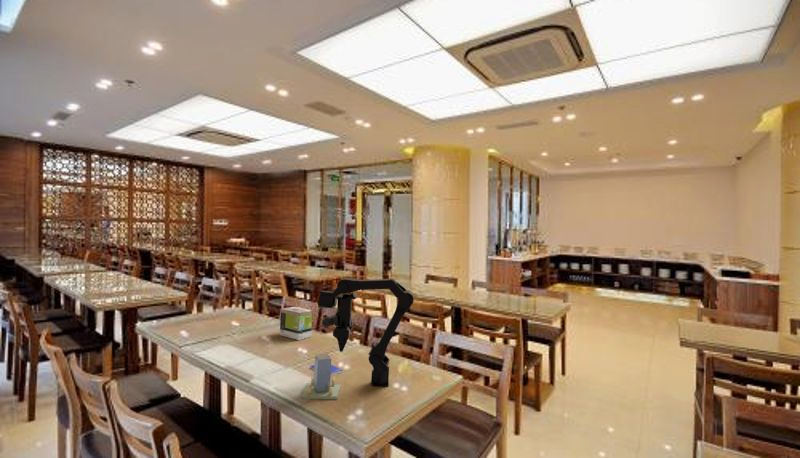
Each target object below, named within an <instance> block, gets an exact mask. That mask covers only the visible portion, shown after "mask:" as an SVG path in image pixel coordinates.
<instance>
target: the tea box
mask: <svg viewBox="0 0 800 458" xmlns="http://www.w3.org/2000/svg"><path fill="white" fill-rule="evenodd" d="M279 319H280V320H279V321H280V322H279V324H280V325H279V336H282V337H286V338H290V339H293V340H297V341H300V340H304V338H305V339H307V338H311V337H312V333H313V332H312V331H313V329H312V328H313V309H309V308H304V307H298V306H291V307H290V306H289V307H285V308H280V318H279Z"/></svg>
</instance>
